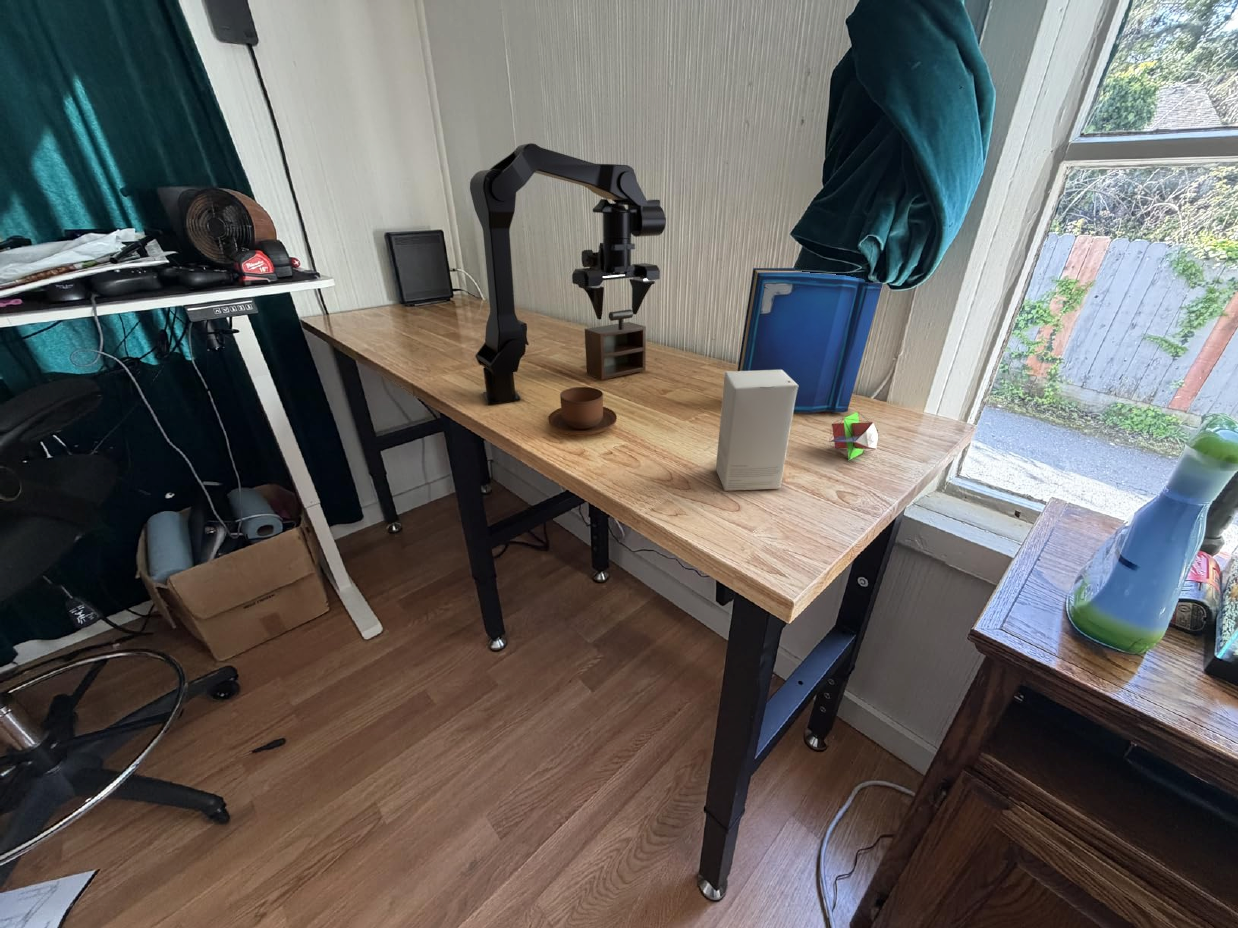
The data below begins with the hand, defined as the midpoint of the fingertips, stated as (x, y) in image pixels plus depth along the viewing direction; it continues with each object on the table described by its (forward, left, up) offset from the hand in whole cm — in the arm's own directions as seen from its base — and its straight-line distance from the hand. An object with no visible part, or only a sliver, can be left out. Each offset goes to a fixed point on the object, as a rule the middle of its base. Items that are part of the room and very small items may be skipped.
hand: (617, 316), depth 107 cm
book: (-32, -22, -13) cm, 42 cm away
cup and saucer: (-24, +18, -13) cm, 33 cm away
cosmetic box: (-51, +3, -13) cm, 53 cm away
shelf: (+4, +1, -6) cm, 7 cm away
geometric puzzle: (-51, -17, -13) cm, 56 cm away
